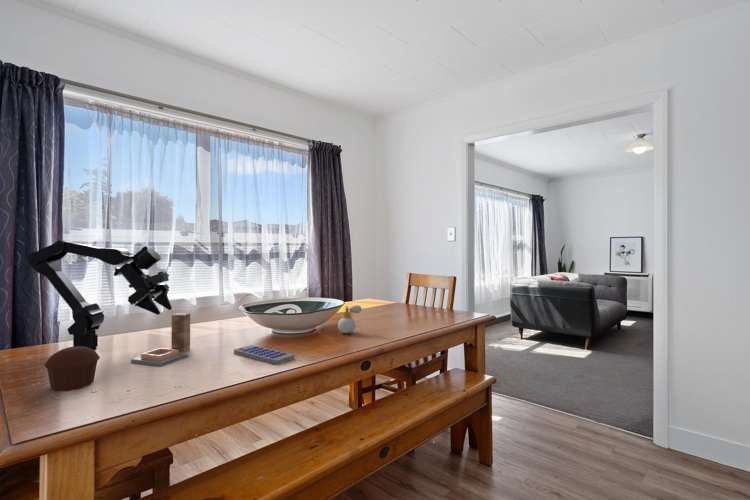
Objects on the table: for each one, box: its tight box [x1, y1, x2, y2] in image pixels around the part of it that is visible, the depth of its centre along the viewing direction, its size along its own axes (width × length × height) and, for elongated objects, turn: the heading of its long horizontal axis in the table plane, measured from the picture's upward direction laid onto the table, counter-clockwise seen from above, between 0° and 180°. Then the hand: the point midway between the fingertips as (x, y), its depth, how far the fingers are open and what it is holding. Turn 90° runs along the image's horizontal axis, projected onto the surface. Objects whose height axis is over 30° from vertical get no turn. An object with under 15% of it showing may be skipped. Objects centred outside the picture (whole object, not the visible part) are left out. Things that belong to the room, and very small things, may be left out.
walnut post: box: [171, 312, 191, 353], centre depth 137 cm, size 4×4×13 cm
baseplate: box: [130, 347, 189, 367], centre depth 127 cm, size 12×11×2 cm
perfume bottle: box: [337, 304, 362, 335], centre depth 167 cm, size 8×10×12 cm
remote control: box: [233, 344, 295, 366], centre depth 132 cm, size 8×23×2 cm, turn 57°
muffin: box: [44, 346, 101, 392], centre depth 103 cm, size 12×11×10 cm
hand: (165, 311), depth 139 cm, fingers open, 9 cm apart
